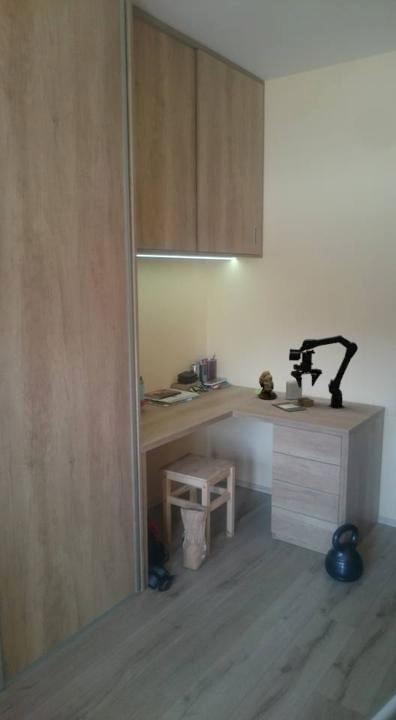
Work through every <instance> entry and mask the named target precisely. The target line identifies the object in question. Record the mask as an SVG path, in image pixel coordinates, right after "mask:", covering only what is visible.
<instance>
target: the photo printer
mask: <svg viewBox="0 0 396 720" xmlns="http://www.w3.org/2000/svg"><path fill="white" fill-rule="evenodd" d="M285 385H286V386H285V400H298V398H300V397H303V382H302V383H301V388H299V386H298V383H297V381H296V379H295V378H294V379H287V380H286V382H285Z"/></svg>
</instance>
